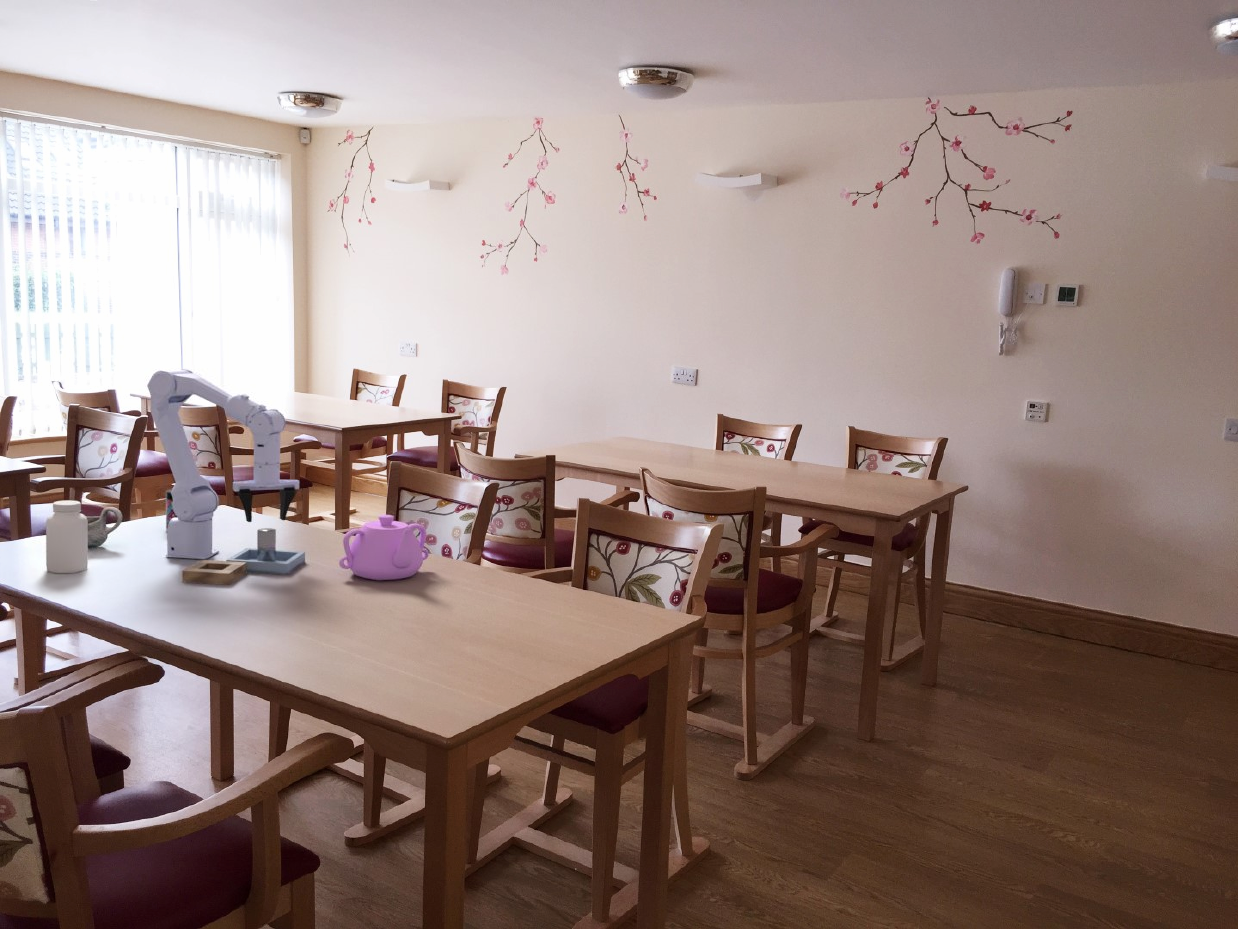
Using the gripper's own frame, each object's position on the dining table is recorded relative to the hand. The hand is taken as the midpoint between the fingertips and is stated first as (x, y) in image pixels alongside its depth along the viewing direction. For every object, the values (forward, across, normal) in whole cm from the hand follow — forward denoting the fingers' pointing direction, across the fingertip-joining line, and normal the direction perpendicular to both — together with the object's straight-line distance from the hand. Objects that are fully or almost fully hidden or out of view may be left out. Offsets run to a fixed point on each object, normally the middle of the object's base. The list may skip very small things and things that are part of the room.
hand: (265, 520), depth 233 cm
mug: (+11, -33, +28) cm, 44 cm away
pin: (+10, 0, -3) cm, 10 cm away
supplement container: (+11, -11, +42) cm, 45 cm away
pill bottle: (+11, -40, +9) cm, 42 cm away
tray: (+10, 0, -3) cm, 11 cm away
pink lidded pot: (+10, +22, -21) cm, 32 cm away
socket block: (+10, -13, -9) cm, 19 cm away
